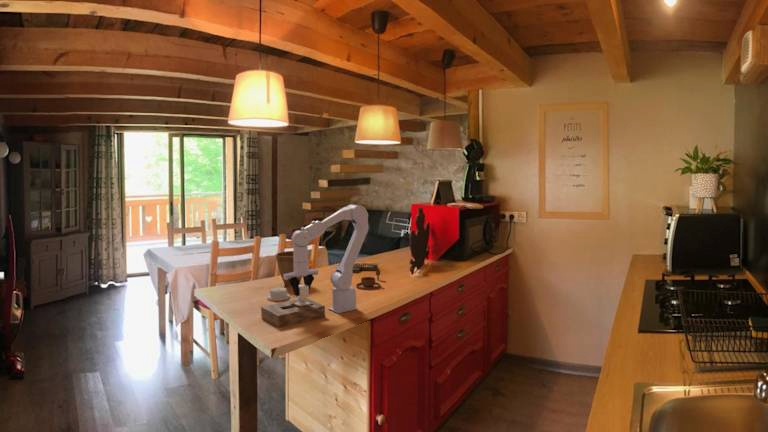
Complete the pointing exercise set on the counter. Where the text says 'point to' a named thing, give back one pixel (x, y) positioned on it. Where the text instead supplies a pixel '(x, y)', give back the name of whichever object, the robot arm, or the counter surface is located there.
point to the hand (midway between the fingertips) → (301, 294)
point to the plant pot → (286, 265)
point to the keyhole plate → (291, 312)
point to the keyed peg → (302, 296)
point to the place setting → (369, 282)
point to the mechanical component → (278, 294)
